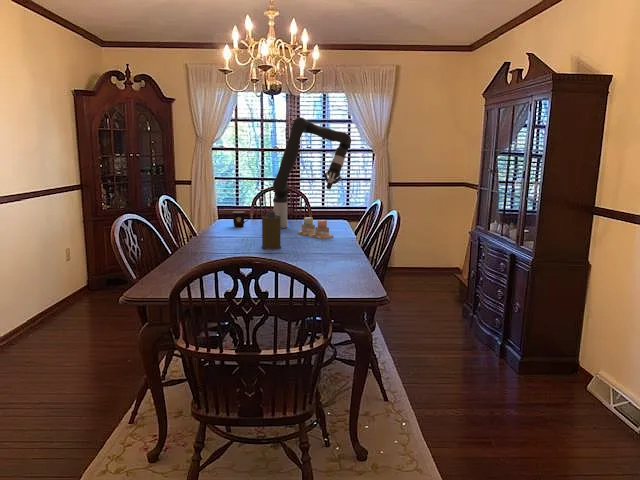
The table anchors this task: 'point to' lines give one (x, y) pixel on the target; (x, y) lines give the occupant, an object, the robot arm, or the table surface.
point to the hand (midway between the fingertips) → (328, 188)
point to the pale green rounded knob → (308, 221)
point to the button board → (312, 234)
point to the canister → (271, 231)
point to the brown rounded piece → (322, 224)
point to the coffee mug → (239, 218)
